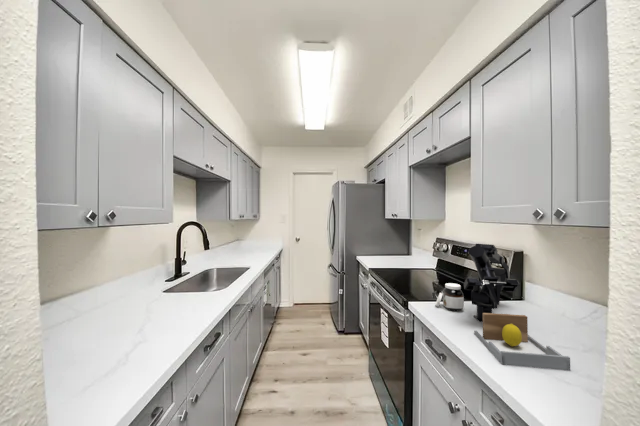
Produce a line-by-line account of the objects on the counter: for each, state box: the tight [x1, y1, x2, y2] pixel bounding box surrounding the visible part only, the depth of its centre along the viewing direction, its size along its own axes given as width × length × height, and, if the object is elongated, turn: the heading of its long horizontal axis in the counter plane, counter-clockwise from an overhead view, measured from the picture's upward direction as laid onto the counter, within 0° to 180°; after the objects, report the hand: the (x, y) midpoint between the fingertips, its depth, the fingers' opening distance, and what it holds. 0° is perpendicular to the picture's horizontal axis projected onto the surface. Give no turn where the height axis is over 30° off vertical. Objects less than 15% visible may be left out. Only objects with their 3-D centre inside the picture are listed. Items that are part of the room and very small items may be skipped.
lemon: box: [502, 324, 522, 348], centre depth 91 cm, size 6×6×8 cm
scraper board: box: [482, 312, 529, 343], centre depth 96 cm, size 2×14×9 cm, turn 80°
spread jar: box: [435, 282, 465, 312], centre depth 129 cm, size 12×11×12 cm
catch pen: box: [473, 330, 571, 371], centre depth 89 cm, size 21×18×4 cm
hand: (497, 304), depth 101 cm, fingers closed
